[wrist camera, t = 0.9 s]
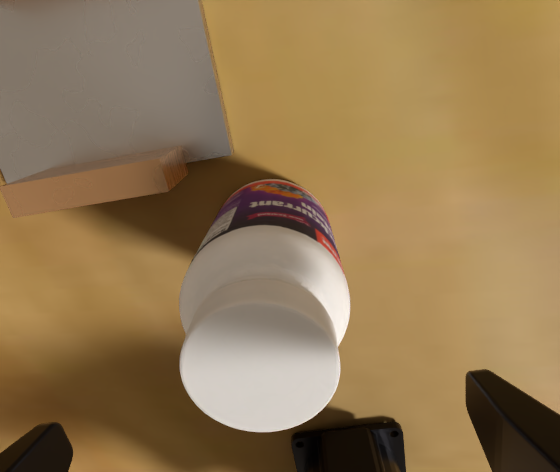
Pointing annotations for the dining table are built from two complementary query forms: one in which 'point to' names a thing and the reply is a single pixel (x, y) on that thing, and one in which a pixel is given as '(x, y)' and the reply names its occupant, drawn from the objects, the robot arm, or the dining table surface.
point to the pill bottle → (264, 310)
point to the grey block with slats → (104, 100)
